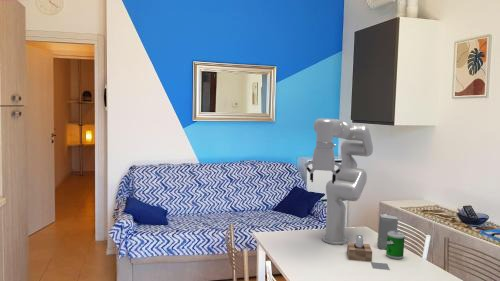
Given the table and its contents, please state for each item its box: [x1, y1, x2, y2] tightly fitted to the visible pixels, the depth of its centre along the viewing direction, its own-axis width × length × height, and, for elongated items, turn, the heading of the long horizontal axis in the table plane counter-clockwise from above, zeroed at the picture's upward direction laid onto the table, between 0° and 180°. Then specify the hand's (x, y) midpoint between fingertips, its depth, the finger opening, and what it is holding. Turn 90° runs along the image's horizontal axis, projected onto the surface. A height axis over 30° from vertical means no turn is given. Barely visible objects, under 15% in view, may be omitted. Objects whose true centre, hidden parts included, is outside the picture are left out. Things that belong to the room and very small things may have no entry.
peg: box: [355, 234, 364, 249], centre depth 180 cm, size 3×3×10 cm
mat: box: [370, 261, 391, 271], centre depth 170 cm, size 7×7×1 cm
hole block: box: [346, 241, 373, 263], centre depth 180 cm, size 10×10×5 cm
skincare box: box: [376, 213, 399, 250], centre depth 194 cm, size 8×7×16 cm
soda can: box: [385, 230, 406, 260], centre depth 181 cm, size 8×8×12 cm
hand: (322, 182), depth 183 cm, fingers open, 9 cm apart
